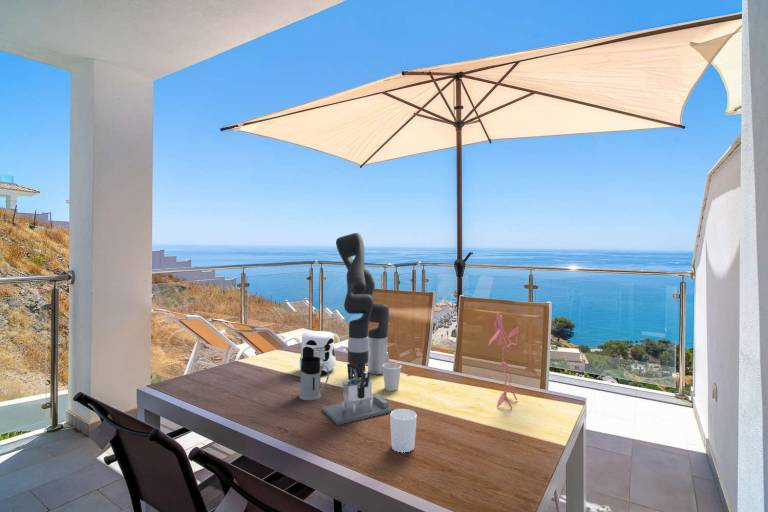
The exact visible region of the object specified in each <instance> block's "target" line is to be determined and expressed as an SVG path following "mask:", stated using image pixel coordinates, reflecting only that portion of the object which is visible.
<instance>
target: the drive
mask: <svg viewBox="0 0 768 512" xmlns="http://www.w3.org/2000/svg"><path fill="white" fill-rule="evenodd" d="M360 384H361V381H360ZM365 384H366V382H365ZM342 385H343V386H342V387H343V388H342V393H343V395H342V398H343V399H344V398H345V399H346V400H347V402H351V401H357V400H362V399H368V398H371V394H372V389H373V388H372V382H371V381H370V380H369V383H368V387H365V392H364V398H361V399H359V398H358V382H357V381H356V380H355V381H350V380H349V381H344V382H343V384H342Z"/></svg>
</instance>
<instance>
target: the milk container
mask: <svg viewBox="0 0 768 512" xmlns="http://www.w3.org/2000/svg"><path fill="white" fill-rule="evenodd" d="M301 337H302V338H301V354H300V358H299V369H300V370H301V359H302V358H304V357H319V358H320V367H321V366H323V365H325V366H327V367H328V369H329V373H330V372H332V371H333V370H334V369H335V367H336V362H337V361H336V360H337V359H336V355H335V350H334V349H335V336H334V333H333V332H331V331H323V330H322V331H318V330H317V331H307V332H305V333H303V334H302V336H301ZM323 374H327V369H326V367H324V366H323V367H322V370H321V374H320V375H323Z"/></svg>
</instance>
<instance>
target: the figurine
mask: <svg viewBox="0 0 768 512" xmlns="http://www.w3.org/2000/svg"><path fill="white" fill-rule="evenodd" d="M495 318H496V319H495V320H494V321H493V329H494V334H493V336H492V337H491V339H490V340H489V342H488V346H490V345H491V344H492V343H494V341H495V342H498V346H501V343H502V338H503V341H504V344H505V346H503V347H502V349H501V355H502V357H501V359H502V361H501V362H500V367H501V369H502V370H503V373H504V375H505V381H504V388H503V389H504V390H503V393H501V395H500V397H499V398H498V401H497V405H496V408H499V407H500V406H501V405H502V404H503V403H504V401H505V400H506V401H507V403H508V405H509V407H511V408H513V406H512V404H511V402H510V400H509V398H508V396H507V394H508V392H509V391H511V393H512V395H513V396H514V399H515V401H516V400H518V398H517V396H516V394H515V392H514V390H513V388H512V387H513V385H512V384H508V385H509V386H508V388H507V389H506V387H507V386H506V385H507V380H508V376H507V373H506V371H505V370H506V369H509V383H511V382H512V381H511V379H512V378H511V377H512V368H511V367H509V365H508V363H507V362H506V361H505V360H504V356H505V355H504V352H505V351H504V350H505V348H507V349H509V348H510V346H512V345H514V346H517V345H518V341H519V340H518V339H519V331H520V326H517V327H515V328H513V329H512V330H511V331H510V332H509V334H507V332H506V330H505V328H504V325H503V314H500V313H499V312H496V317H495ZM515 335H516V339H515V343H514V342H512V341H511V340H510V338H512V337H514V336H515ZM505 336H506V338H505ZM506 339H507V340H508V342H509V343H507V341H506ZM511 408H510V409H511Z"/></svg>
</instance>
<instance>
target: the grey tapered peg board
mask: <svg viewBox="0 0 768 512" xmlns="http://www.w3.org/2000/svg"><path fill="white" fill-rule="evenodd" d="M321 410H322V412H323V413H324V414H326V416H328V417H329V419H331V420H332V422H333V423H335V424H336V426H340V425H345V424H349V423H353V422H352V421H354V422H357V420H358V421H362V420H366V419H365V418H367V419H370V418H369V417H371V418H374V417H373V416H375V417H379V416H382V414H384V415H387V414H386V413H388V414H390V412H392V411H393V410H395V409H394V408H393V407H392V406H390V405H389V401H388V400H386V399H385V398H383V397H381V396H380V395H379V394H377V393H376V392H375V393H371V398H368V399H362V400H357V401H351V402H348V401H347V400H346V399H345V398H343V400H342V401H341V403H336V404H331V405H326V406H322V409H321ZM378 415H379V416H378ZM361 419H362V420H361ZM344 423H345V424H344Z"/></svg>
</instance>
